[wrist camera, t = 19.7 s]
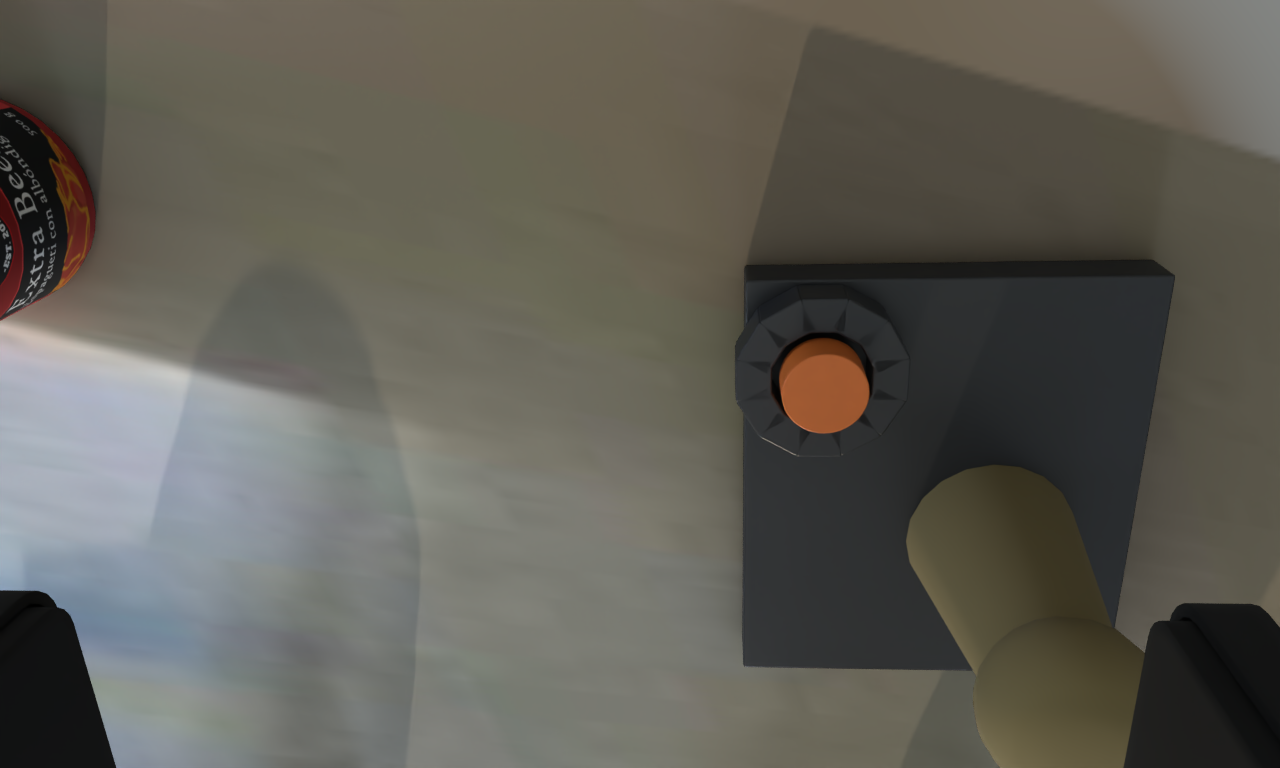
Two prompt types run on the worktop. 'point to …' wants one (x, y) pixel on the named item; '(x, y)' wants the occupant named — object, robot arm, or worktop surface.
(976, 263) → the scale
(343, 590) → the worktop surface
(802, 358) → the button
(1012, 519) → the cork
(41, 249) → the canned food
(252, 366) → the worktop surface
